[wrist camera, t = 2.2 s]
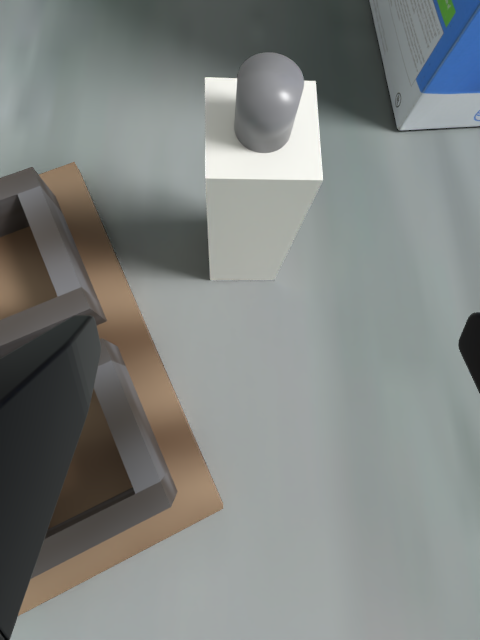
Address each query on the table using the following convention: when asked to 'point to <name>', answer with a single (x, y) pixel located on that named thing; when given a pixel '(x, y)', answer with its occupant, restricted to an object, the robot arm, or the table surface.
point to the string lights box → (431, 61)
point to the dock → (97, 387)
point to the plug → (259, 165)
